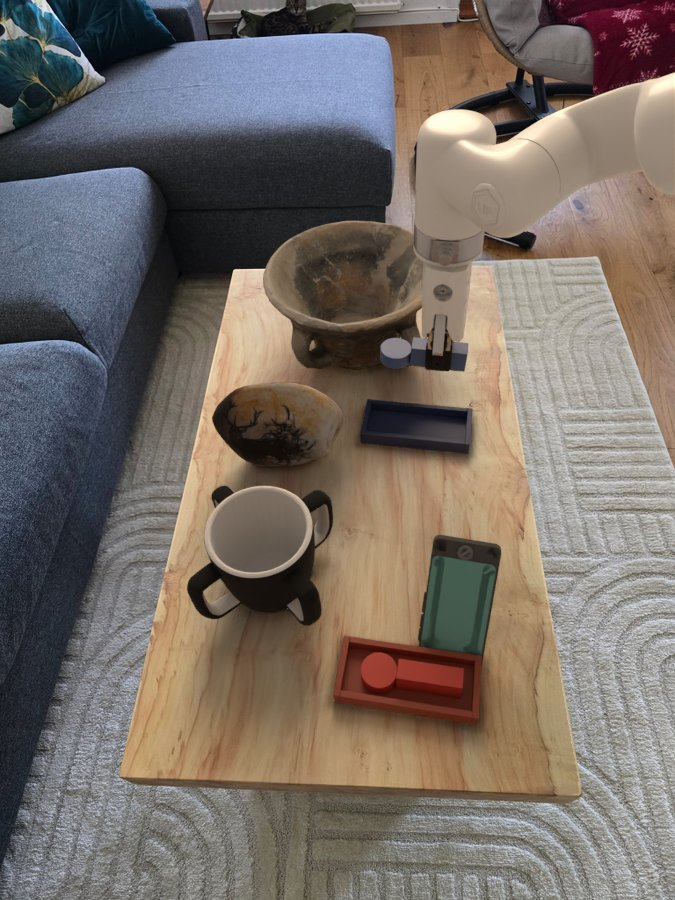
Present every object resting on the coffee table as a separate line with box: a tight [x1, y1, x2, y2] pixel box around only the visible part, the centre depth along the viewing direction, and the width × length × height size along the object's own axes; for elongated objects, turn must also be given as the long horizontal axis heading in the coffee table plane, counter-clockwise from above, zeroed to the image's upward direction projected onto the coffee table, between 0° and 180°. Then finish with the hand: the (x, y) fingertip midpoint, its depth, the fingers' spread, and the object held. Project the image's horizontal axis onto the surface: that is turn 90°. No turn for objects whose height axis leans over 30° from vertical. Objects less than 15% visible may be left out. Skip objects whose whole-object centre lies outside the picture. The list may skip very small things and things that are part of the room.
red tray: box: [332, 635, 483, 726], centre depth 75 cm, size 15×7×2 cm, turn 80°
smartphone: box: [417, 534, 502, 667], centre depth 74 cm, size 7×1×15 cm
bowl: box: [262, 220, 423, 370], centre depth 106 cm, size 27×26×15 cm
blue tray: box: [359, 398, 474, 455], centre depth 98 cm, size 15×7×2 cm, turn 80°
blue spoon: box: [380, 337, 469, 373], centre depth 87 cm, size 11×4×3 cm, turn 80°
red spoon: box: [361, 652, 464, 698], centre depth 74 cm, size 11×4×3 cm, turn 80°
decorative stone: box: [211, 381, 344, 467], centre depth 91 cm, size 18×9×15 cm, turn 90°
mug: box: [186, 485, 334, 627], centre depth 80 cm, size 16×16×12 cm
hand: (438, 360), depth 87 cm, fingers closed on blue spoon, 2 cm apart
